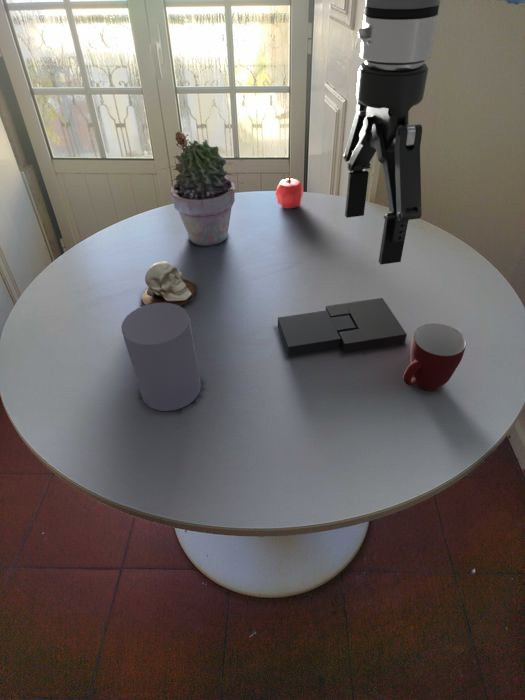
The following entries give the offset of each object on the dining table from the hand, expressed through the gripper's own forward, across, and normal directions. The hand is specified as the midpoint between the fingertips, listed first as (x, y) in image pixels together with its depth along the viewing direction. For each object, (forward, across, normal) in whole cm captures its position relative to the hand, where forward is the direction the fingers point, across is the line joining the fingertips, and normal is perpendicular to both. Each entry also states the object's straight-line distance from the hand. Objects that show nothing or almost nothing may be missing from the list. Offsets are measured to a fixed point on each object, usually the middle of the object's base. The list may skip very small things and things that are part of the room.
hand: (370, 237), depth 66 cm
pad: (+27, -11, -3) cm, 29 cm away
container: (+27, -3, -32) cm, 42 cm away
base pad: (+27, -11, +6) cm, 29 cm away
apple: (+27, -69, +5) cm, 74 cm away
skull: (+27, -32, -31) cm, 52 cm away
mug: (+27, +6, +10) cm, 29 cm away
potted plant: (+27, -56, -19) cm, 65 cm away
